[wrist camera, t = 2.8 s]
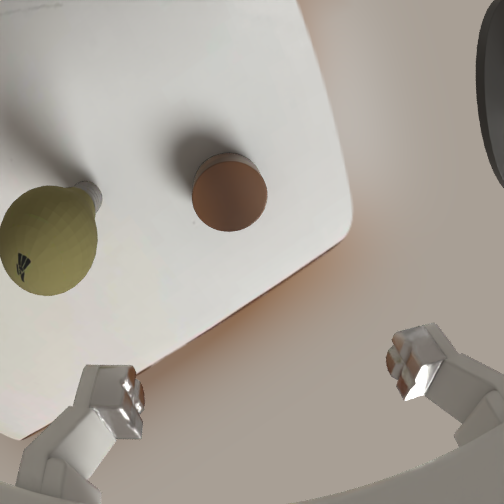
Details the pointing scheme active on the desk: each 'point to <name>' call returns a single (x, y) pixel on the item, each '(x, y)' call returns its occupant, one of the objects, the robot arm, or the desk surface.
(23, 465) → the robot arm
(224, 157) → the brown cylindrical puck
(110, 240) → the desk surface
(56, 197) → the light bulb
